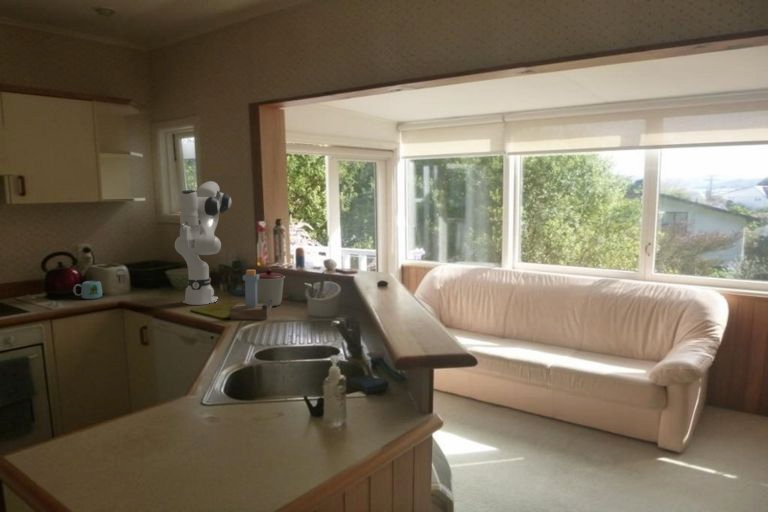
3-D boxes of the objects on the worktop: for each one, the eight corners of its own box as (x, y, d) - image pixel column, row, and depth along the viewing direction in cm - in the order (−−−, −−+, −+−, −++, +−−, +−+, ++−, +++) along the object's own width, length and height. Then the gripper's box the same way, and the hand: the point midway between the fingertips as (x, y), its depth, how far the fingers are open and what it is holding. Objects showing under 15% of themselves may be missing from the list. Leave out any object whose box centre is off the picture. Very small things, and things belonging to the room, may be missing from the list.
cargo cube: (248, 277, 260) (247, 269, 260) (255, 277, 260) (255, 269, 260) (246, 278, 256) (246, 270, 256) (254, 278, 256) (254, 270, 256)
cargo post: (246, 304, 263) (245, 274, 261) (259, 304, 263) (259, 274, 262) (243, 307, 256) (242, 276, 254) (257, 307, 256) (256, 276, 255)
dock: (238, 312, 268) (237, 299, 267) (272, 312, 269) (272, 299, 268) (230, 319, 252) (230, 305, 251) (266, 319, 253) (266, 305, 252)
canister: (277, 309, 277) (277, 271, 274) (247, 307, 280) (246, 270, 278) (290, 302, 294) (289, 267, 292) (261, 301, 298) (260, 266, 296)
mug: (75, 301, 291) (74, 284, 290) (72, 298, 299) (71, 282, 298) (104, 298, 301) (103, 282, 300) (100, 295, 309) (99, 279, 308)
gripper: (188, 222, 248) (189, 250, 250) (201, 221, 269) (202, 247, 270) (175, 222, 248) (176, 250, 250) (189, 221, 268) (190, 246, 270)
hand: (190, 248), depth 260 cm, fingers open, 8 cm apart
